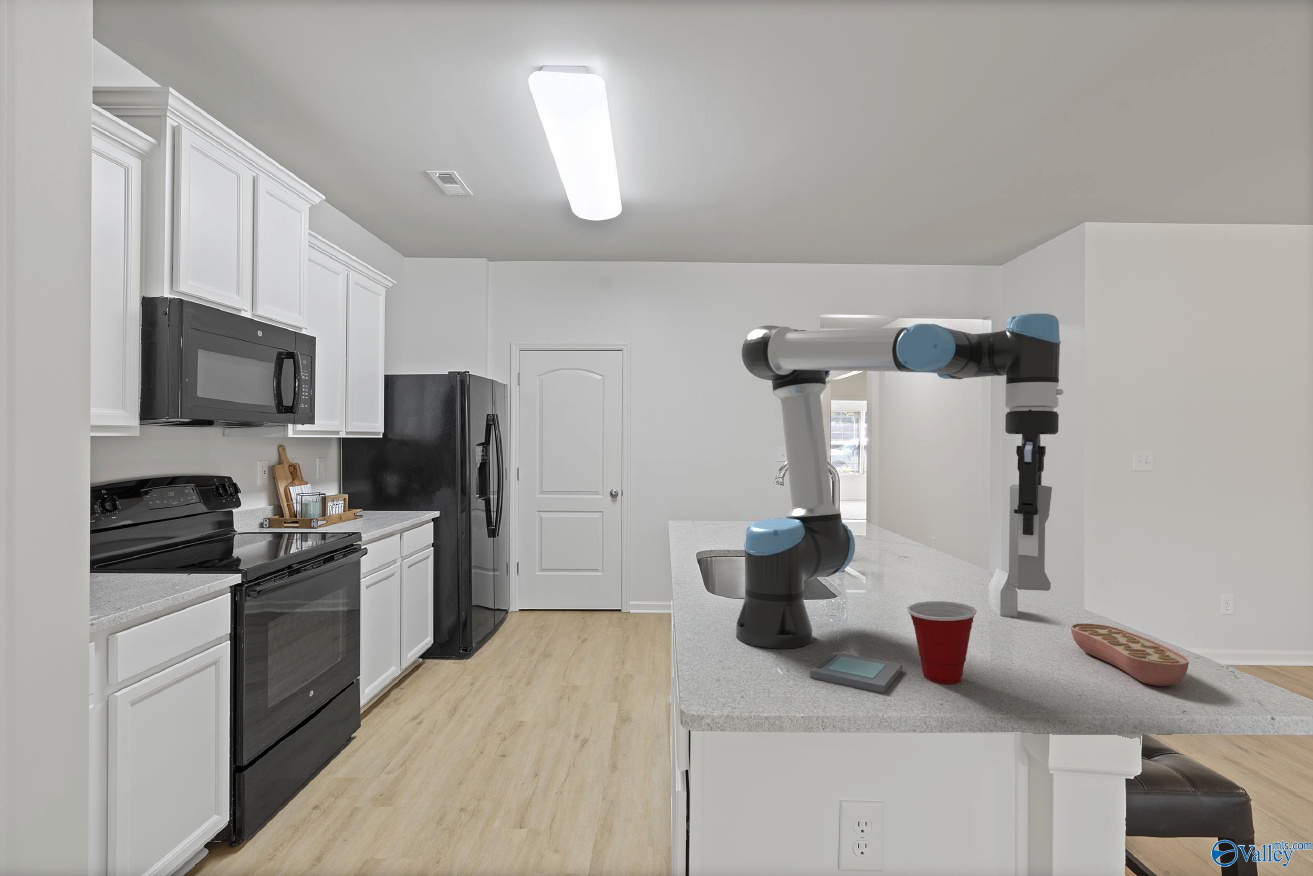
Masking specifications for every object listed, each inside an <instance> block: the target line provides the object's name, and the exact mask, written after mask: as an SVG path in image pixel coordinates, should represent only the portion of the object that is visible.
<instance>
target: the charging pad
mask: <svg viewBox="0 0 1313 876" xmlns="http://www.w3.org/2000/svg"><path fill="white" fill-rule="evenodd" d="M902 672H903V664H902V663H898V662H892V661H886V660H882V659H877V658H871V657H865V656H860V655H855V654H851V653H845V652H838V651H833V652H831V653H830V654H828V656H826V657H825V658H824V659H823V660H821V661H820V662H818V664H816V665H815V666H813V667H812V668H811V669H810V670H809V678H811V679H816V680H820V681H825V682H830V683H834V684H837V685H838V684H839V685H843V686H847V687H853V688H857V689H860V690H861V689H862V690H867V691H870V692H875V693H881V694H884V693H885V692H886V691H888V688H889V687H891V685H892V684H893V682H894V681H895V680H896V679H897V678H898V676H899V675H900V674H902Z"/></svg>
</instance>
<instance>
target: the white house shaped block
mask: <svg viewBox="0 0 1313 876" xmlns="http://www.w3.org/2000/svg"><path fill="white" fill-rule="evenodd" d="M992 576H993V577H992V578H991V580H990V581H989V584H988V609H989V610H990V609H991V612H993V611H994V612H993V613H995V612H996V613H997V615H998V614H999V615H1000V616H999V615H998V616H999V617H1010V616H1017V617H1018V615H1019V614H1018V613H1019V612H1018V610H1019V607H1018V595H1019V594H1018V591H1017V590H1018V589H1017V588H1015V587H1013V586H1012V585H1010V584H1009V572H1007V571H1005V570H1002V569H1001V568H996V569H995V572H994V574H993V575H992ZM996 613H995V614H996Z"/></svg>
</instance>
